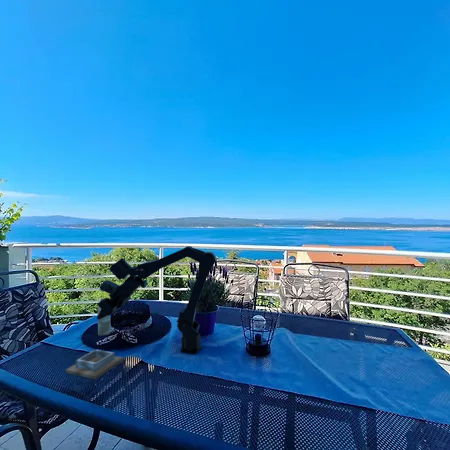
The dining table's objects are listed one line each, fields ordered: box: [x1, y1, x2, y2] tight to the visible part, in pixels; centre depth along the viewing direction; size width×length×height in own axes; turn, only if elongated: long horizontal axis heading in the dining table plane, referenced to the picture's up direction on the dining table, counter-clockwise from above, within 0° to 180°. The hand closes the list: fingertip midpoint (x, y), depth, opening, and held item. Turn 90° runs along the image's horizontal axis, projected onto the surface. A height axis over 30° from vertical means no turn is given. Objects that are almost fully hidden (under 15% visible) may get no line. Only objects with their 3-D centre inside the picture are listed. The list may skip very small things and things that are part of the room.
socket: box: [65, 349, 125, 381], centre depth 95 cm, size 13×13×4 cm
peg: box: [97, 305, 112, 336], centre depth 107 cm, size 4×4×10 cm
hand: (100, 316), depth 107 cm, fingers closed on peg, 4 cm apart
